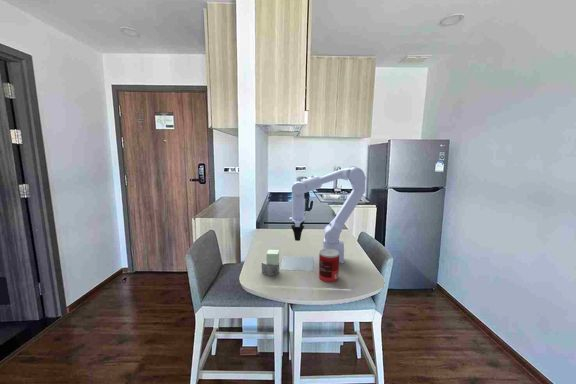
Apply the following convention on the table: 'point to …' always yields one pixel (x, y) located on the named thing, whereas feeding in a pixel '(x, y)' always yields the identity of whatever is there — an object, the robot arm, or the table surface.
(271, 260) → the sage brick
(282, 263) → the plate
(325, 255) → the canned food
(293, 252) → the table surface
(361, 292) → the table surface
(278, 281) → the table surface
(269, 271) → the dice cube
